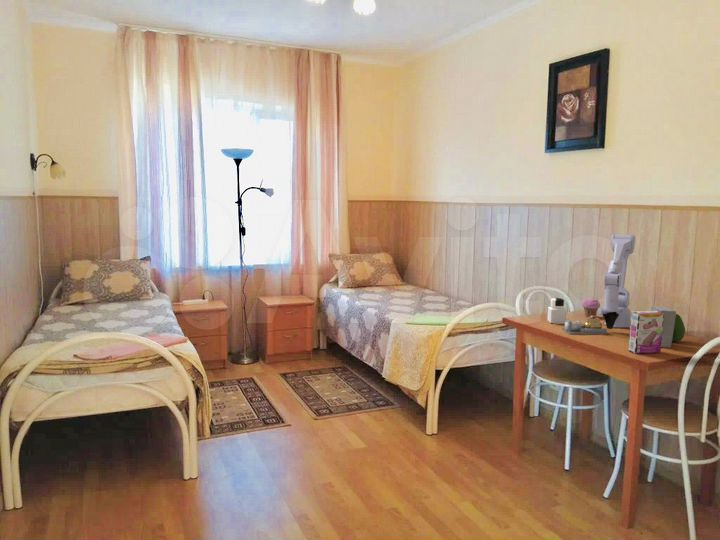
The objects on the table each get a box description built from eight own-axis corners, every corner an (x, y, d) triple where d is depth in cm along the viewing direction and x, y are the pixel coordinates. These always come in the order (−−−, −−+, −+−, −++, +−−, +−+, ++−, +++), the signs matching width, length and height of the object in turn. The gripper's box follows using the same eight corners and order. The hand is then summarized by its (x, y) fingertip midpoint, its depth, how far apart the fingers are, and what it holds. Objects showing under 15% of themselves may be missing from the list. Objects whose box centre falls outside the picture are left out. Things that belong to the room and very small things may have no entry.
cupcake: (600, 319, 276) (602, 299, 275) (582, 318, 278) (583, 299, 277) (597, 315, 285) (598, 296, 284) (579, 314, 287) (580, 296, 286)
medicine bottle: (561, 320, 272) (563, 297, 271) (565, 324, 265) (567, 300, 264) (547, 320, 273) (548, 297, 271) (550, 323, 266) (551, 299, 264)
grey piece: (597, 329, 255) (598, 318, 254) (607, 334, 245) (607, 323, 244) (561, 329, 255) (562, 318, 254) (569, 334, 245) (570, 323, 245)
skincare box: (646, 342, 232) (649, 305, 230) (663, 342, 232) (666, 305, 230) (656, 347, 224) (659, 309, 222) (674, 347, 224) (677, 309, 222)
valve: (598, 329, 252) (599, 315, 251) (602, 331, 248) (603, 317, 247) (583, 329, 252) (584, 315, 251) (587, 331, 248) (587, 316, 247)
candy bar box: (635, 354, 214) (638, 313, 212) (627, 350, 219) (630, 310, 217) (661, 353, 216) (664, 312, 214) (653, 349, 221) (656, 310, 218)
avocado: (672, 338, 239) (674, 311, 238) (688, 342, 232) (690, 315, 230) (658, 339, 236) (660, 312, 235) (674, 344, 229) (676, 316, 227)
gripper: (615, 296, 255) (613, 325, 256) (592, 298, 249) (591, 328, 250) (628, 299, 248) (626, 328, 250) (605, 301, 242) (603, 331, 244)
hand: (609, 328), depth 250 cm, fingers closed
